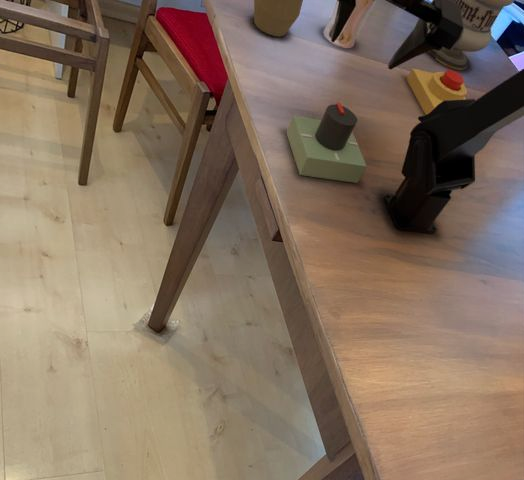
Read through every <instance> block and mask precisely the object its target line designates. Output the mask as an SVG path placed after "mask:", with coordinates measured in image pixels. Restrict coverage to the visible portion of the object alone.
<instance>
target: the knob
mask: <svg viewBox="0 0 524 480" xmlns="http://www.w3.org/2000/svg"><path fill="white" fill-rule="evenodd" d="M320 120H321V122H320V125H319V127H318V129H317V131H316V134H315V136H316V139H317V140H318V142H319V143H320V144H321V145H323V146H324V147H326V148H328V149H331V150H342V149H343V148H344V147H345V145H346V143H347V141H348V139H349V137H350V135H351V133H352V132H353V131H354V129H355V127H356V125H357V123H358V118H357V115H356V114H355V113H354V112H353V111H352V110H350V109H349V108H347V107H346V106H344V105H342V103H341V102H336V103H335V104H333V103H331V104H329V105H328V106H327V107H326V109H325V111H324V113H323V115H322V118H321V119H320Z"/></svg>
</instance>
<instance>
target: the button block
mask: <svg viewBox="0 0 524 480" xmlns="http://www.w3.org/2000/svg"><path fill="white" fill-rule="evenodd" d="M444 73H445V72H443V71H437V72H430V71H425V70H422V69H417V68H412V69H410V72H409V74H408V76H407V78H406V81H407V84H408V85H409V87H410V88H411V90H412V92H413V94H414V96H415V98H416V100H417V102H418V103H419V105H420V107H421V109H422V111H423V113H424V116H425V115H427V114H429V113H430V112H431V111H432V110H433V109H434V108H435V107H436V106H437V105H438V104H440V103H441V102H443V101H446V100H463V99H467V98H466V96H467V94H468V93H467V92H468V89H467V88H466V86H465V84H464V83H463V84H462V85H461V87H460V88H459V90H458V91H455V90H451V89H449V88H447V87H446V86H445V85H444V84H442V83H441V81H440V80H441V78H442V77H443V75H444Z"/></svg>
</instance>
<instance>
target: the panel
mask: <svg viewBox="0 0 524 480" xmlns="http://www.w3.org/2000/svg"><path fill="white" fill-rule="evenodd" d="M321 120H322V119H317V118H311V117H306V116H302V115H301V116H300V115H295V114H293V115H292V117H291V120H290V123H289V124H288V128H287V130H286V136H287V140H288V143H289V146H290V149H291V152H292V155H293V158H294V162H295V164H296V167H297V171H298V174H299V175H300V176H304V177H312V178H319V179H324V180H325V179H326V180H333V181H338V182H339V181H340V182H347V183H354V184H358V183H359V182H360V179H361V178H362V176H363V174H364V172H365V171H366V169H367V167H368V166H367V163H366V161H365V158H364V156H363V153H362V152H361V149H360V147H359V144H358V142H357V139H356V137H355V135H354V132H353V131H352V133H351V135H350V137H349V139H348V141H347V143H346V145H345V147H344V148H343V149H342V150H331V149H328V148H326V147H324V146H323V145H321V144H320V143H319V142H318V140H317V139H316V136H315V134H316V131H317V129H318V127H319V125H320V122H321Z"/></svg>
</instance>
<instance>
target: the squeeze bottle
mask: <svg viewBox="0 0 524 480" xmlns="http://www.w3.org/2000/svg"><path fill="white" fill-rule="evenodd" d="M303 2H304V0H253V22H254V24H255V27H257V29H259V30H260V31H261V32H263V33H265V34H266V35H270V36H273V37H283V36H285V35H286V34H287V33H288V31H289V30H290V29H291V27H292V26H293V25H294V24H295V22H296V21H297V19H298V18H299V17H300V14H301V10H302V6H303Z"/></svg>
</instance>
